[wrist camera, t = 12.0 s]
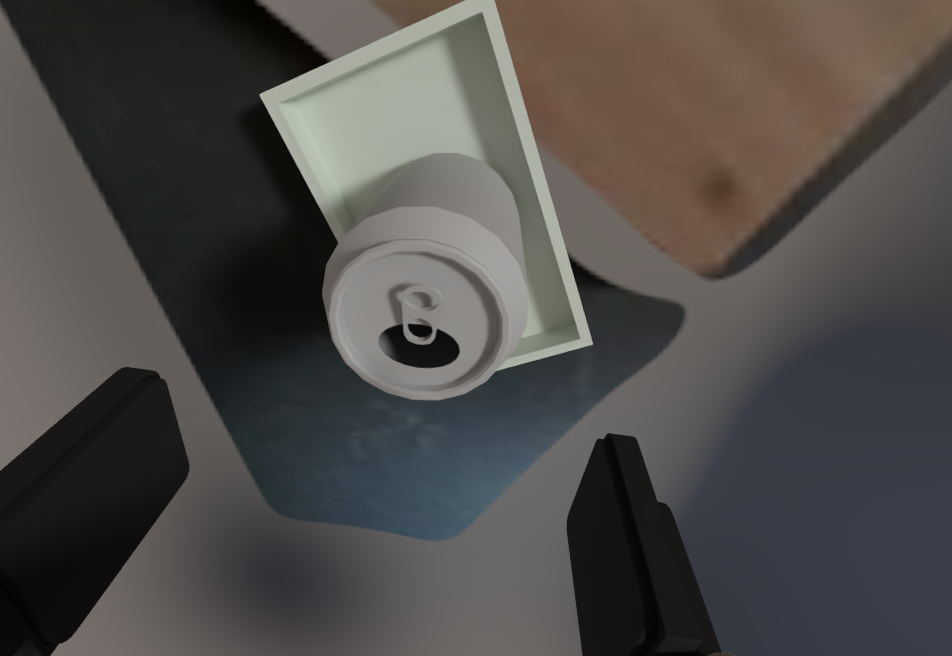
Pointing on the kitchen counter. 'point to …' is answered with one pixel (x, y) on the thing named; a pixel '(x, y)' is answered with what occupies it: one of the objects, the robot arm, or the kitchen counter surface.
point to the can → (430, 281)
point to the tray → (434, 143)
